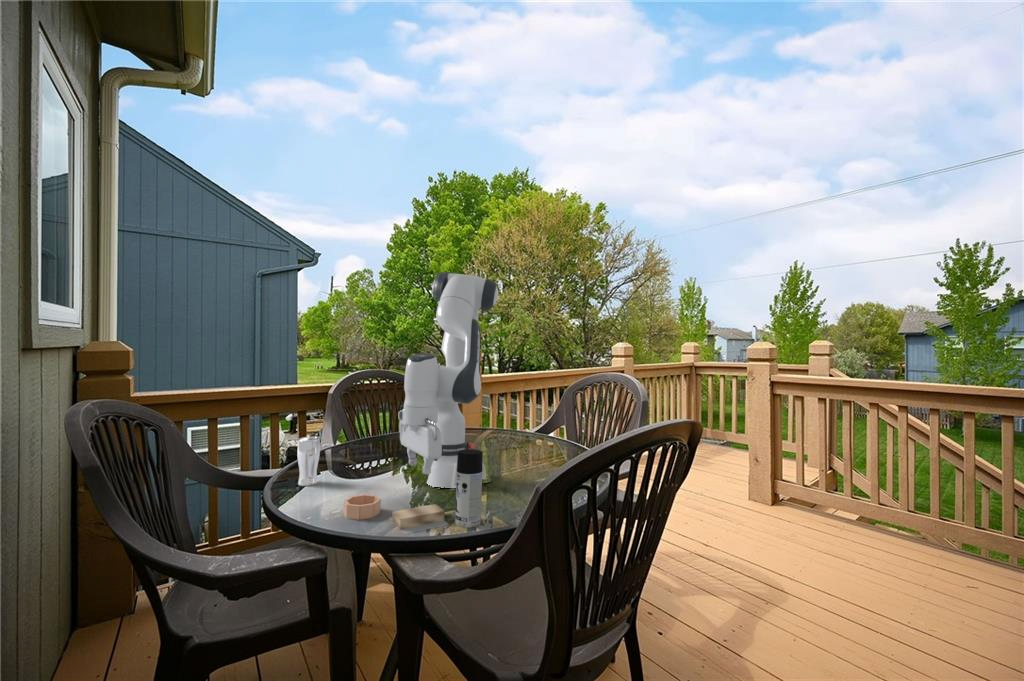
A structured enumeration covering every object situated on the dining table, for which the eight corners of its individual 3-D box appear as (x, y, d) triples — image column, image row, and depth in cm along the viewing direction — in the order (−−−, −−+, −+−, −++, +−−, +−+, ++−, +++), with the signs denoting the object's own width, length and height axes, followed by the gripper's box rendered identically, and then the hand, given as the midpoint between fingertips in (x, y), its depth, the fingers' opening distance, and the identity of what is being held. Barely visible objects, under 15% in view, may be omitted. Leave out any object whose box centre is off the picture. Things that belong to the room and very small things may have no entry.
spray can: (455, 523, 126) (457, 448, 126) (480, 522, 127) (482, 448, 127) (454, 533, 120) (456, 454, 120) (481, 533, 120) (483, 454, 120)
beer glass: (322, 480, 161) (324, 437, 161) (312, 487, 154) (313, 441, 154) (303, 479, 162) (304, 436, 162) (292, 486, 155) (293, 440, 155)
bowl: (373, 510, 134) (374, 492, 134) (383, 520, 127) (383, 502, 127) (340, 516, 129) (341, 497, 129) (349, 527, 122) (349, 507, 122)
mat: (430, 515, 131) (430, 510, 131) (449, 530, 121) (449, 524, 121) (388, 523, 125) (388, 517, 125) (404, 540, 115) (404, 533, 115)
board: (435, 513, 129) (435, 503, 129) (444, 520, 124) (444, 510, 124) (392, 521, 122) (392, 511, 122) (400, 529, 117) (400, 519, 117)
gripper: (448, 421, 116) (447, 477, 116) (417, 410, 133) (416, 459, 133) (424, 423, 113) (423, 481, 113) (396, 411, 130) (394, 461, 130)
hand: (419, 469), depth 123 cm, fingers open, 8 cm apart
